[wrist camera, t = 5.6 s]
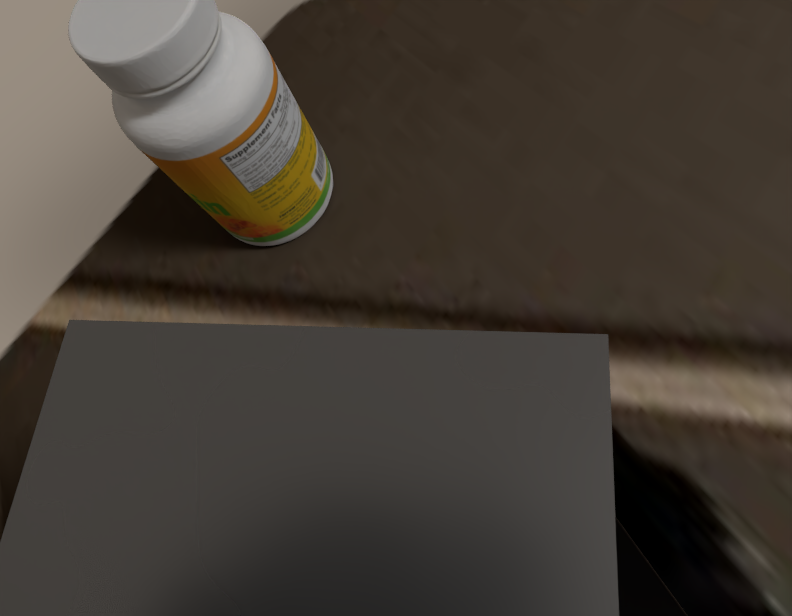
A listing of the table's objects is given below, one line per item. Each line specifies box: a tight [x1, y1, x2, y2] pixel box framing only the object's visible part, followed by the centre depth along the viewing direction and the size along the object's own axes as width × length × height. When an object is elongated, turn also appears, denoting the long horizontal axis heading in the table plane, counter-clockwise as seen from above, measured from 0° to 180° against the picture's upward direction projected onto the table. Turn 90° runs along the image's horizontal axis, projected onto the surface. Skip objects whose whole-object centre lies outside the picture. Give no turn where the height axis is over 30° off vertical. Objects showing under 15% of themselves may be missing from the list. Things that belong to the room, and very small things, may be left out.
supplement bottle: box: [68, 0, 333, 246], centre depth 19 cm, size 5×5×10 cm
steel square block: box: [0, 320, 619, 616], centre depth 9 cm, size 4×4×12 cm
